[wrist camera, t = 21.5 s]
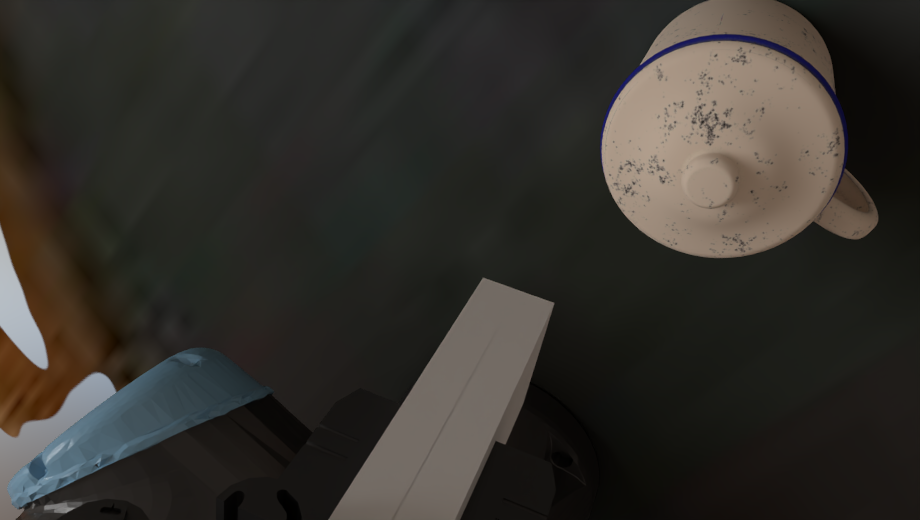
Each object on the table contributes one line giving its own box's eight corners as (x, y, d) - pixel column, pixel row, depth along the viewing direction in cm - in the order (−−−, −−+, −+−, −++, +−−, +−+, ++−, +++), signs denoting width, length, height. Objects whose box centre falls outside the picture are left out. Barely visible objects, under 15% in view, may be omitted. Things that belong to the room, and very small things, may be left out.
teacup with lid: (600, 107, 39) (538, 205, 30) (714, -54, 34) (681, 3, 25) (795, 240, 39) (793, 380, 30) (942, 99, 34) (995, 216, 24)
